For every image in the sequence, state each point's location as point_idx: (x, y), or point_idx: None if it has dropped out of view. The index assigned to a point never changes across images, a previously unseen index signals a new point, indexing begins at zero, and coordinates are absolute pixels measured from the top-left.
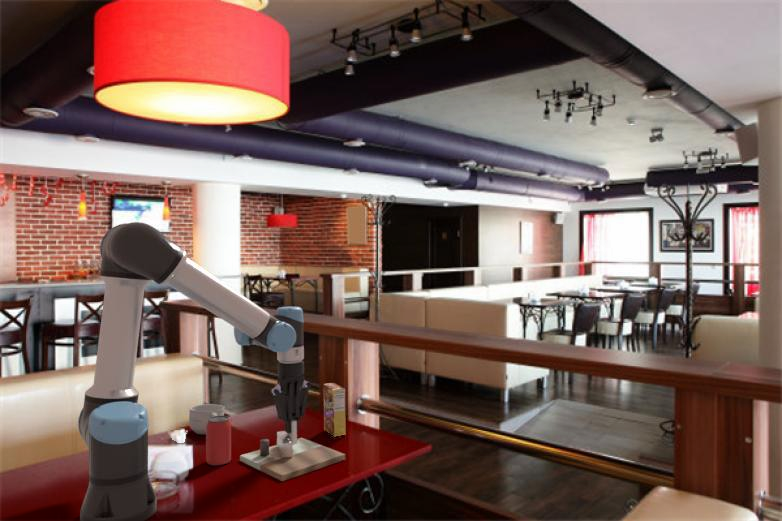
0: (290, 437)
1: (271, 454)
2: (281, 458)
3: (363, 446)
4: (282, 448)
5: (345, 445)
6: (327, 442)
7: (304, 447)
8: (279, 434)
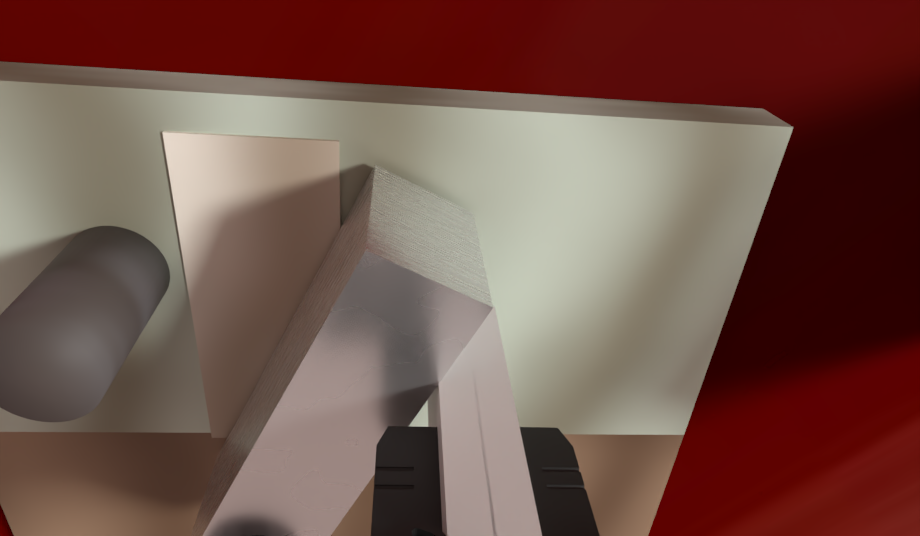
0: (432, 410)
1: (187, 308)
2: (215, 435)
3: (893, 511)
4: (204, 507)
5: (864, 429)
6: (878, 290)
7: (551, 373)
8: (317, 365)
